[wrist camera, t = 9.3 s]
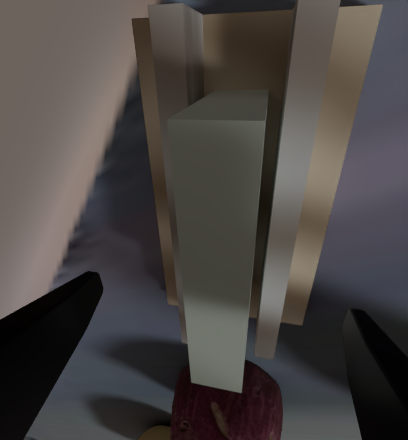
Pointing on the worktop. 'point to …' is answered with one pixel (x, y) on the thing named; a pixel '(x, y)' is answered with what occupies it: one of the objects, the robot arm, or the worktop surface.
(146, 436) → the yellow rounded lump
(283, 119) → the track
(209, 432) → the vegetable
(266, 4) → the worktop surface
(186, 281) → the rectangular block
